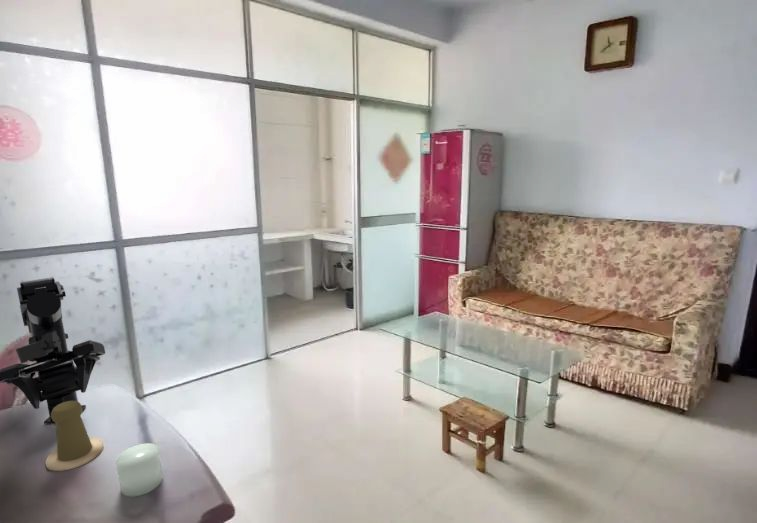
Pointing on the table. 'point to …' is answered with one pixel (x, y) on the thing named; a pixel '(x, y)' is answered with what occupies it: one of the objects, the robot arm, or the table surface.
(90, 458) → the trivet
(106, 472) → the table surface
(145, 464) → the pale mint rounded cylinder
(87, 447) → the pepper shaker
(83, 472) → the table surface
